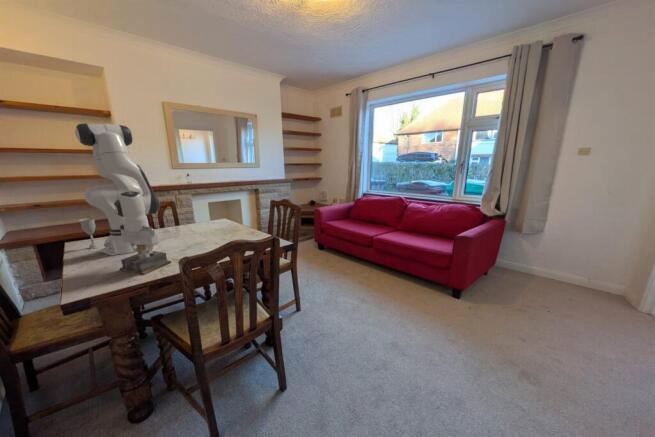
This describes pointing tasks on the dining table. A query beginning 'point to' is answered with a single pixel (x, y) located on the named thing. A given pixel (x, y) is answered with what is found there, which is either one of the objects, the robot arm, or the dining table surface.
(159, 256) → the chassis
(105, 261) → the dining table surface
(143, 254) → the sprinkles bottle
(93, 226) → the chalice
